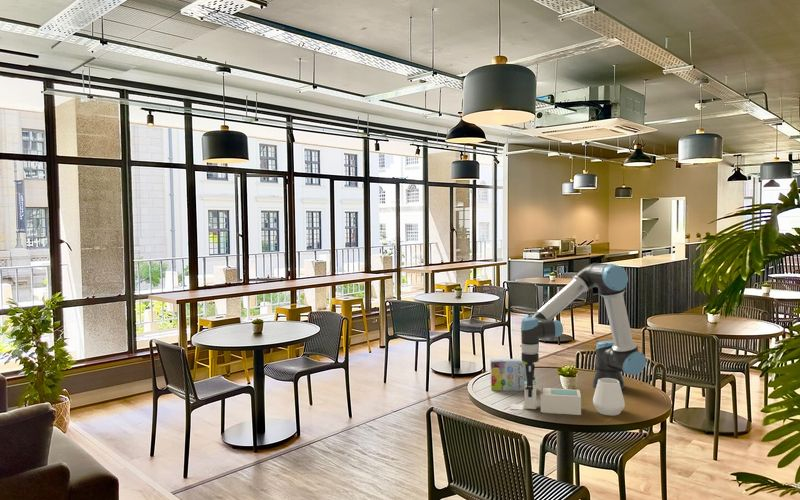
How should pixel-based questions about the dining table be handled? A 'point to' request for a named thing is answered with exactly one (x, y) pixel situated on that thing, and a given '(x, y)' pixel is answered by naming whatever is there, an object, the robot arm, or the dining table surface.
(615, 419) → the dining table surface
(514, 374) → the snack box
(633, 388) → the dining table surface
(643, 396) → the dining table surface
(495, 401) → the dining table surface
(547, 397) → the white tissue box
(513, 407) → the pad
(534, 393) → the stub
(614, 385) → the white vase
